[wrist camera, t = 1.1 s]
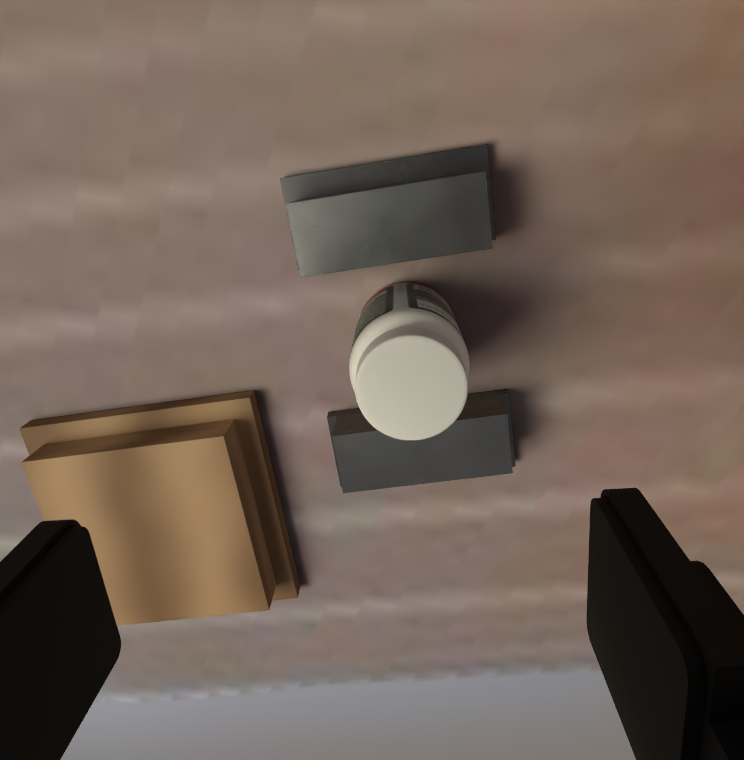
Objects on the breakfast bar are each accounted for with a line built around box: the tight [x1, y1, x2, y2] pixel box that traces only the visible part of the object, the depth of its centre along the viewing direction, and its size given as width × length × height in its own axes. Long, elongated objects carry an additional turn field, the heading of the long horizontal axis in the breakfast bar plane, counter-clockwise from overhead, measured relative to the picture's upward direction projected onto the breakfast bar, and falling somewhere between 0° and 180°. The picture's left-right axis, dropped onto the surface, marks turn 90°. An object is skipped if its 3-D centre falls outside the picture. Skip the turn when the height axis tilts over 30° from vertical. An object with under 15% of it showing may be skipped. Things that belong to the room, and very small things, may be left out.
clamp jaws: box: [280, 144, 515, 493], centre depth 28 cm, size 9×15×3 cm, turn 9°
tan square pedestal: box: [20, 390, 300, 626], centre depth 31 cm, size 12×12×3 cm
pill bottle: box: [349, 282, 470, 440], centre depth 25 cm, size 5×5×8 cm
